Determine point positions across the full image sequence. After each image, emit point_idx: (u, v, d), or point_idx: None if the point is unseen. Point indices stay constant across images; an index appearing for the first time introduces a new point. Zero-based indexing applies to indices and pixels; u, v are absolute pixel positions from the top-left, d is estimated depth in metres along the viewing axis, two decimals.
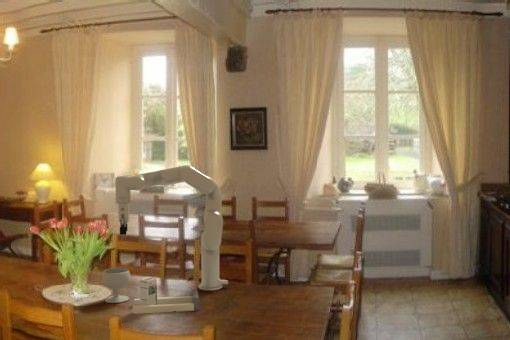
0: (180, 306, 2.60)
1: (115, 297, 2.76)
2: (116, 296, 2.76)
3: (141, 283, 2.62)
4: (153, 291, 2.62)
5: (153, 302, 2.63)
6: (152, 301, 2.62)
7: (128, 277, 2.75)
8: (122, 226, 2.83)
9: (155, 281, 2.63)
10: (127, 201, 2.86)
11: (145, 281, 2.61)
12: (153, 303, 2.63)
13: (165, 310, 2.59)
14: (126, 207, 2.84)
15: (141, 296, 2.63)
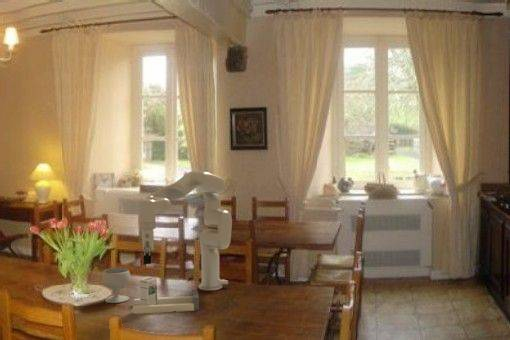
0: (180, 306, 2.60)
1: (115, 297, 2.76)
2: (116, 296, 2.76)
3: (141, 283, 2.62)
4: (153, 291, 2.62)
5: (153, 302, 2.63)
6: (152, 301, 2.62)
7: (128, 277, 2.75)
8: (146, 255, 2.56)
9: (155, 281, 2.63)
10: (152, 227, 2.59)
11: (145, 281, 2.61)
12: (153, 303, 2.63)
13: (165, 310, 2.59)
14: (151, 234, 2.58)
15: (141, 296, 2.63)
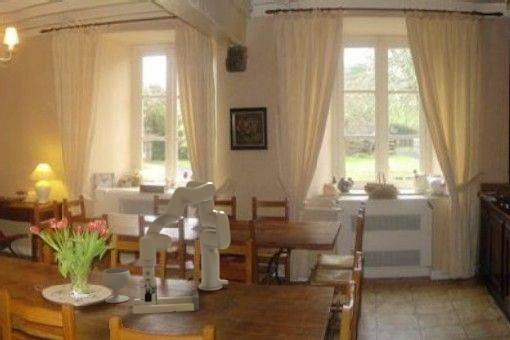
0: (180, 306, 2.60)
1: (115, 297, 2.76)
2: (116, 296, 2.76)
3: (141, 283, 2.62)
4: (153, 291, 2.62)
5: (153, 302, 2.63)
6: (152, 301, 2.62)
7: (128, 277, 2.75)
8: (147, 293, 2.58)
9: (155, 281, 2.63)
10: (152, 264, 2.61)
11: None
12: (153, 303, 2.63)
13: (165, 310, 2.59)
14: (152, 271, 2.59)
15: (141, 296, 2.63)
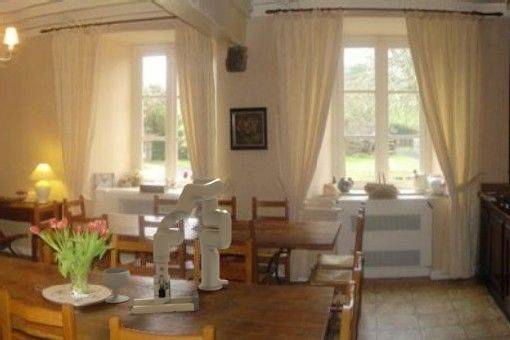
0: (180, 306, 2.60)
1: (115, 297, 2.76)
2: (116, 296, 2.76)
3: (155, 279, 2.63)
4: (166, 287, 2.63)
5: (167, 298, 2.64)
6: (166, 297, 2.64)
7: (128, 277, 2.75)
8: (161, 289, 2.59)
9: (168, 276, 2.65)
10: (166, 260, 2.62)
11: None
12: (167, 299, 2.64)
13: (165, 310, 2.59)
14: (165, 267, 2.60)
15: (155, 292, 2.64)
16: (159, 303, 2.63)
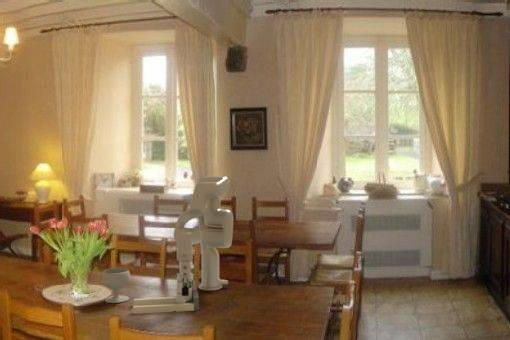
0: (180, 306, 2.60)
1: (115, 297, 2.76)
2: (116, 296, 2.76)
3: (178, 277, 2.65)
4: (189, 285, 2.65)
5: (189, 297, 2.66)
6: (188, 295, 2.65)
7: (128, 277, 2.75)
8: (185, 287, 2.61)
9: (192, 275, 2.66)
10: (189, 258, 2.63)
11: None
12: (189, 297, 2.66)
13: (165, 310, 2.59)
14: (189, 265, 2.62)
15: (178, 290, 2.66)
16: (181, 301, 2.65)
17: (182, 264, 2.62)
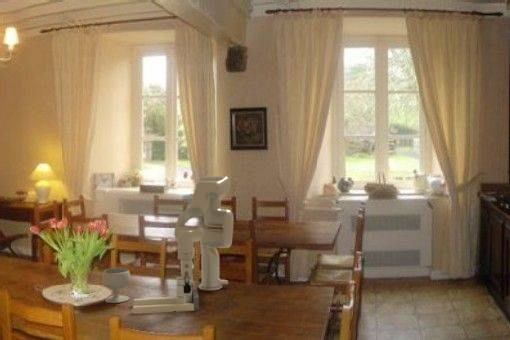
0: (180, 306, 2.60)
1: (115, 297, 2.76)
2: (116, 296, 2.76)
3: (178, 280, 2.66)
4: None
5: (189, 300, 2.65)
6: (189, 299, 2.65)
7: (128, 277, 2.75)
8: (186, 284, 2.61)
9: None
10: (191, 257, 2.63)
11: None
12: (189, 301, 2.65)
13: (165, 310, 2.59)
14: (190, 264, 2.62)
15: (178, 293, 2.66)
16: None
17: (183, 262, 2.62)
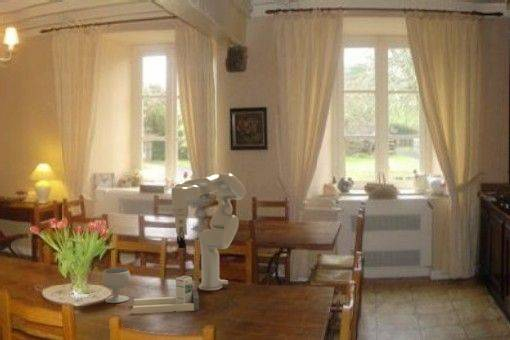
0: (180, 306, 2.60)
1: (115, 297, 2.76)
2: (116, 296, 2.76)
3: (177, 282, 2.65)
4: (189, 289, 2.65)
5: (189, 301, 2.65)
6: (188, 299, 2.65)
7: (128, 277, 2.75)
8: (181, 239, 2.69)
9: (191, 279, 2.66)
10: (185, 213, 2.72)
11: (181, 280, 2.63)
12: (189, 301, 2.65)
13: (165, 310, 2.59)
14: (184, 219, 2.71)
15: (177, 295, 2.65)
16: None
17: (178, 218, 2.70)
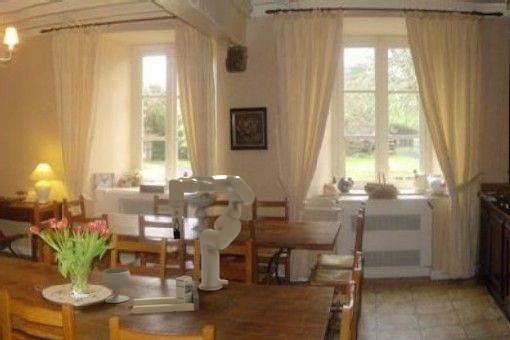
0: (180, 306, 2.60)
1: (115, 297, 2.76)
2: (116, 296, 2.76)
3: (177, 282, 2.65)
4: (189, 289, 2.65)
5: (189, 301, 2.65)
6: (188, 299, 2.65)
7: (128, 277, 2.75)
8: (176, 230, 2.76)
9: (191, 279, 2.66)
10: (181, 205, 2.79)
11: (181, 280, 2.63)
12: (189, 301, 2.65)
13: (165, 310, 2.59)
14: (180, 211, 2.77)
15: (177, 295, 2.65)
16: None
17: (174, 210, 2.77)
